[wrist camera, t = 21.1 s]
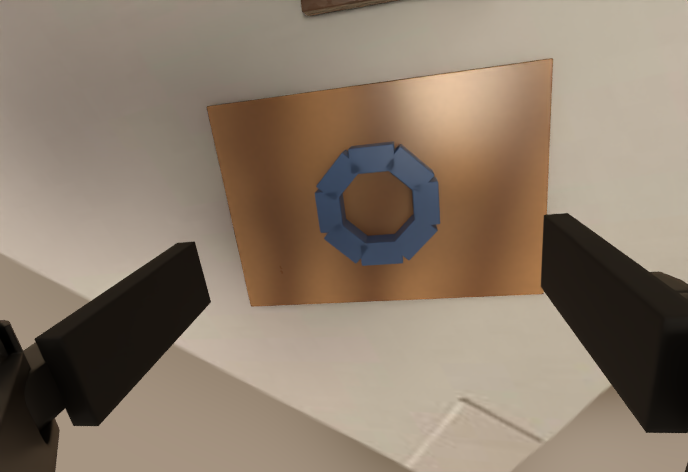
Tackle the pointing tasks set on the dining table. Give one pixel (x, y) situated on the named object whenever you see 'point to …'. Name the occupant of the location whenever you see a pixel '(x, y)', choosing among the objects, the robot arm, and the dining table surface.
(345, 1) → the dowel stand
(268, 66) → the dining table surface
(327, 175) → the ring
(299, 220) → the wooden board
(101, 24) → the dining table surface
